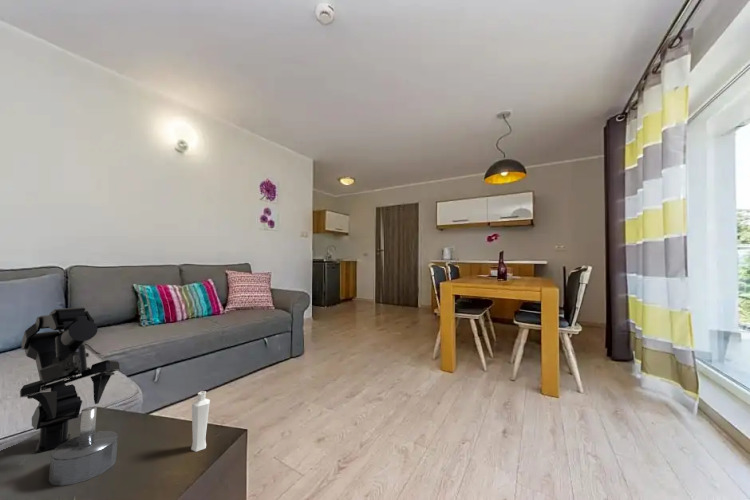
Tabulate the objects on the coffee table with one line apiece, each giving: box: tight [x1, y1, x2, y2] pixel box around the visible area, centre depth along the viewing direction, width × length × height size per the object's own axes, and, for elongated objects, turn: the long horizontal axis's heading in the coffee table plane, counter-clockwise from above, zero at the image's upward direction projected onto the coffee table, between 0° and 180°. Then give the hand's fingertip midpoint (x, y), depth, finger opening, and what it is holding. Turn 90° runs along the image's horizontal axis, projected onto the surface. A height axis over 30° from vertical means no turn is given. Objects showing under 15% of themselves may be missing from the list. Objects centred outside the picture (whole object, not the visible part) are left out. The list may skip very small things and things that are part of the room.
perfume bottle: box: [190, 390, 211, 452], centre depth 86 cm, size 5×4×15 cm
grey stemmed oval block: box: [48, 406, 119, 487], centre depth 76 cm, size 12×12×14 cm
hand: (75, 411), depth 79 cm, fingers open, 9 cm apart
